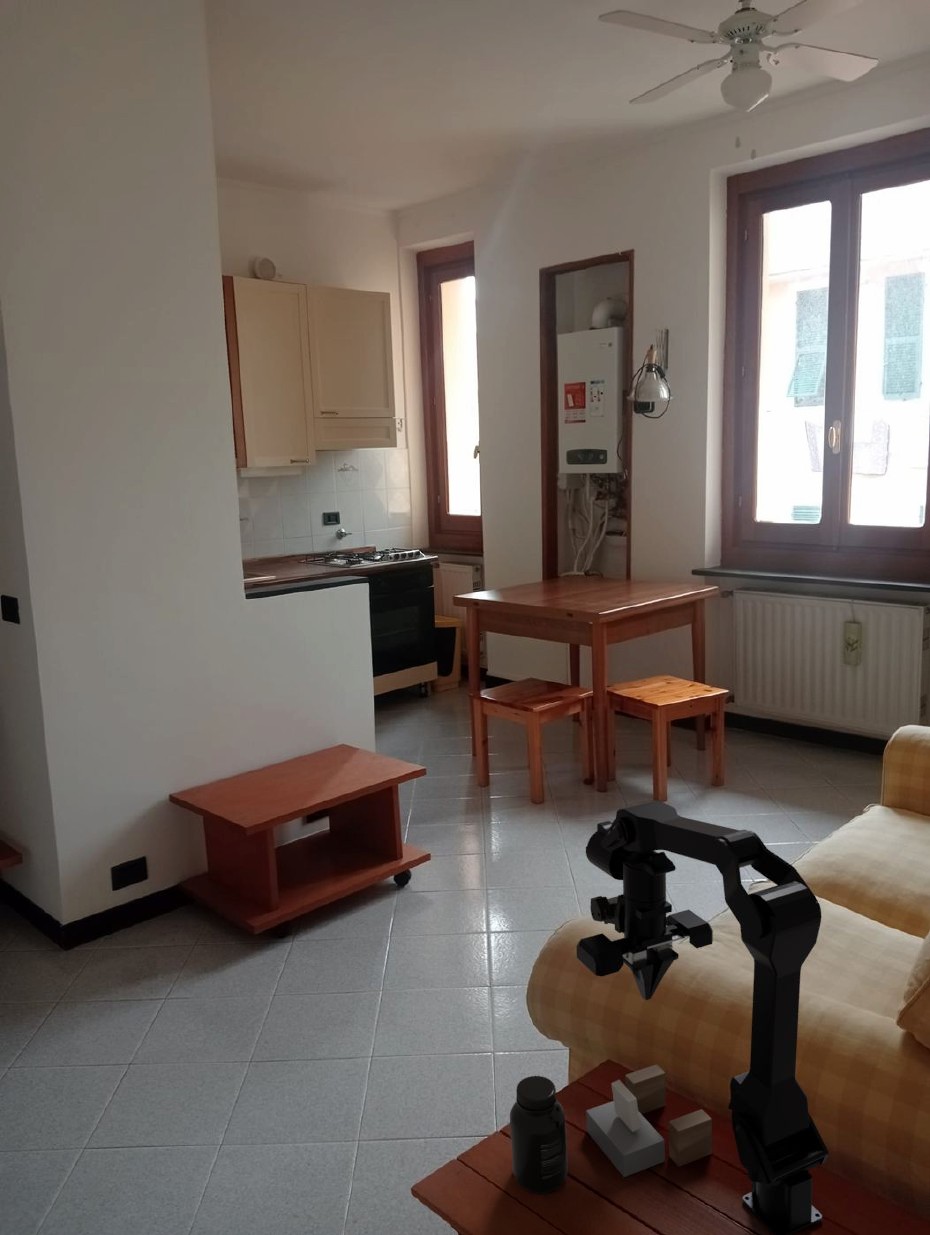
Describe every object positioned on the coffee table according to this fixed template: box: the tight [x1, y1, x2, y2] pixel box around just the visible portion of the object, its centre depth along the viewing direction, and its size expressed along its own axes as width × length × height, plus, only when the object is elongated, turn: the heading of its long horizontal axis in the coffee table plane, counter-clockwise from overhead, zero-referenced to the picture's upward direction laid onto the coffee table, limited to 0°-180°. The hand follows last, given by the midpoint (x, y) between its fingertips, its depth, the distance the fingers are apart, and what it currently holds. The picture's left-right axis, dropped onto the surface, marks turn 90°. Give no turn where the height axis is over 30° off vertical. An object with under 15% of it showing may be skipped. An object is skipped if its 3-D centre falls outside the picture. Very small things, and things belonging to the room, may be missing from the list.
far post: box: [624, 1064, 666, 1115], centre depth 129 cm, size 2×5×5 cm, turn 113°
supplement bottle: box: [509, 1075, 569, 1194], centre depth 117 cm, size 7×7×12 cm
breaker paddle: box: [610, 1079, 640, 1132], centre depth 121 cm, size 4×1×4 cm, turn 23°
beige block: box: [668, 1108, 713, 1167], centre depth 119 cm, size 2×5×5 cm, turn 113°
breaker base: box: [585, 1100, 666, 1178], centre depth 122 cm, size 9×6×3 cm, turn 23°
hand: (646, 998), depth 131 cm, fingers closed
